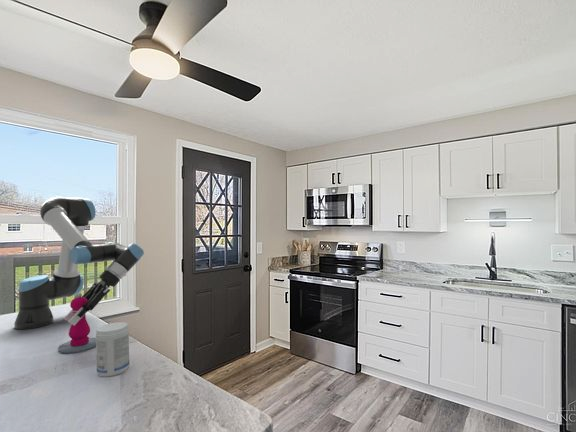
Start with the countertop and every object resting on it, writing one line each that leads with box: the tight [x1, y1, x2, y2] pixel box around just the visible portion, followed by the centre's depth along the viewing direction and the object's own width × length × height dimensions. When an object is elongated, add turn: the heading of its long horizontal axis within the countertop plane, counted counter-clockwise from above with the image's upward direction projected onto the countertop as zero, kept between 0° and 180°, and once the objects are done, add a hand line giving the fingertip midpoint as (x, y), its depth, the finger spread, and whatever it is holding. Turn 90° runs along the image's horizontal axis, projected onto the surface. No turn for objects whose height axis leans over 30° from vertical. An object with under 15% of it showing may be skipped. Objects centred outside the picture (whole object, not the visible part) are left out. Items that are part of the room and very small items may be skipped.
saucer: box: [57, 337, 96, 355], centre depth 127 cm, size 14×14×1 cm
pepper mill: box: [68, 292, 91, 346], centre depth 127 cm, size 7×7×20 cm
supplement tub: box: [95, 321, 130, 378], centre depth 105 cm, size 10×10×15 cm
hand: (68, 322), depth 125 cm, fingers closed on pepper mill, 6 cm apart
